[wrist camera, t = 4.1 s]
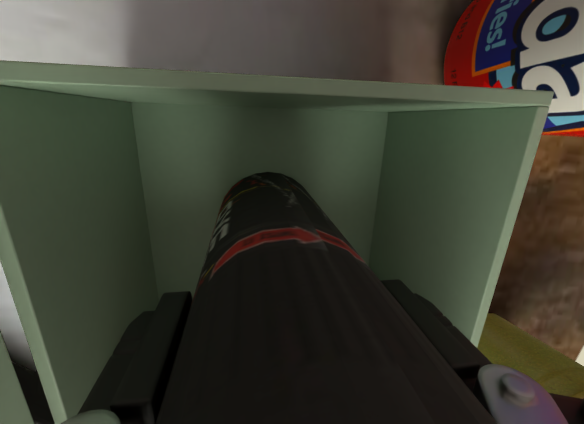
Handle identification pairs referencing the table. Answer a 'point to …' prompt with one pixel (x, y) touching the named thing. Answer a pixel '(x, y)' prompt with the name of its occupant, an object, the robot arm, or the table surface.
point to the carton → (226, 173)
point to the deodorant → (301, 328)
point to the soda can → (524, 54)
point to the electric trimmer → (34, 395)
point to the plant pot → (530, 357)
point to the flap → (11, 392)
